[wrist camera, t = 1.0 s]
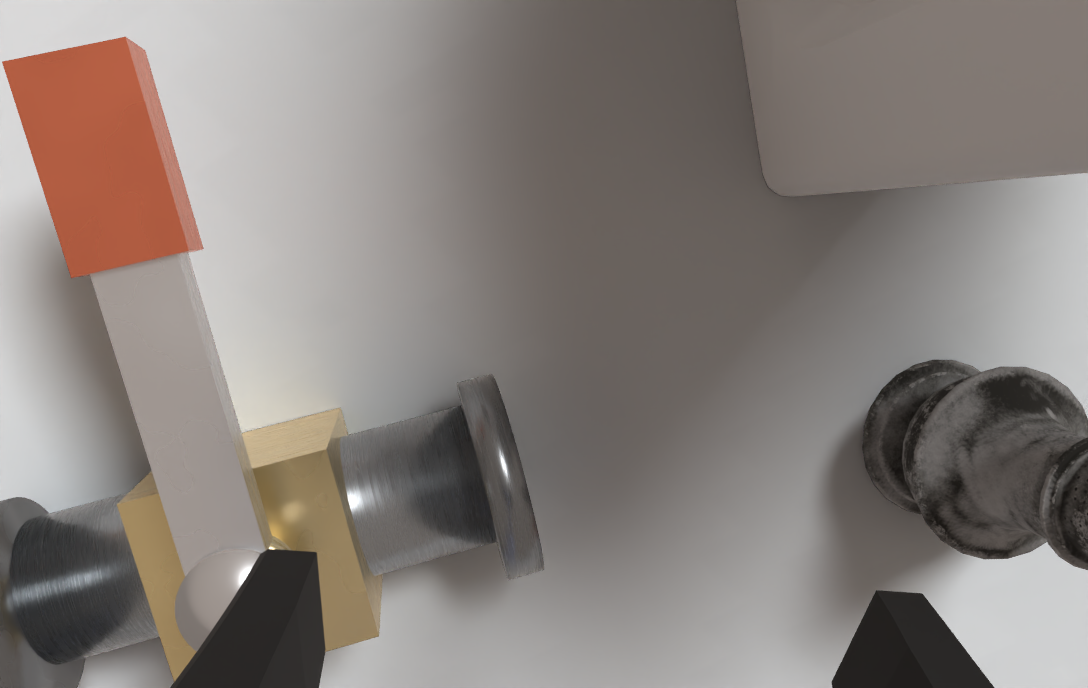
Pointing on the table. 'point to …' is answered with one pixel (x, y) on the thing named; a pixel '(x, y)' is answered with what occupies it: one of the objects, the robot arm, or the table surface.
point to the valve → (293, 516)
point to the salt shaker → (984, 458)
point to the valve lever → (147, 302)
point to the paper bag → (915, 91)
